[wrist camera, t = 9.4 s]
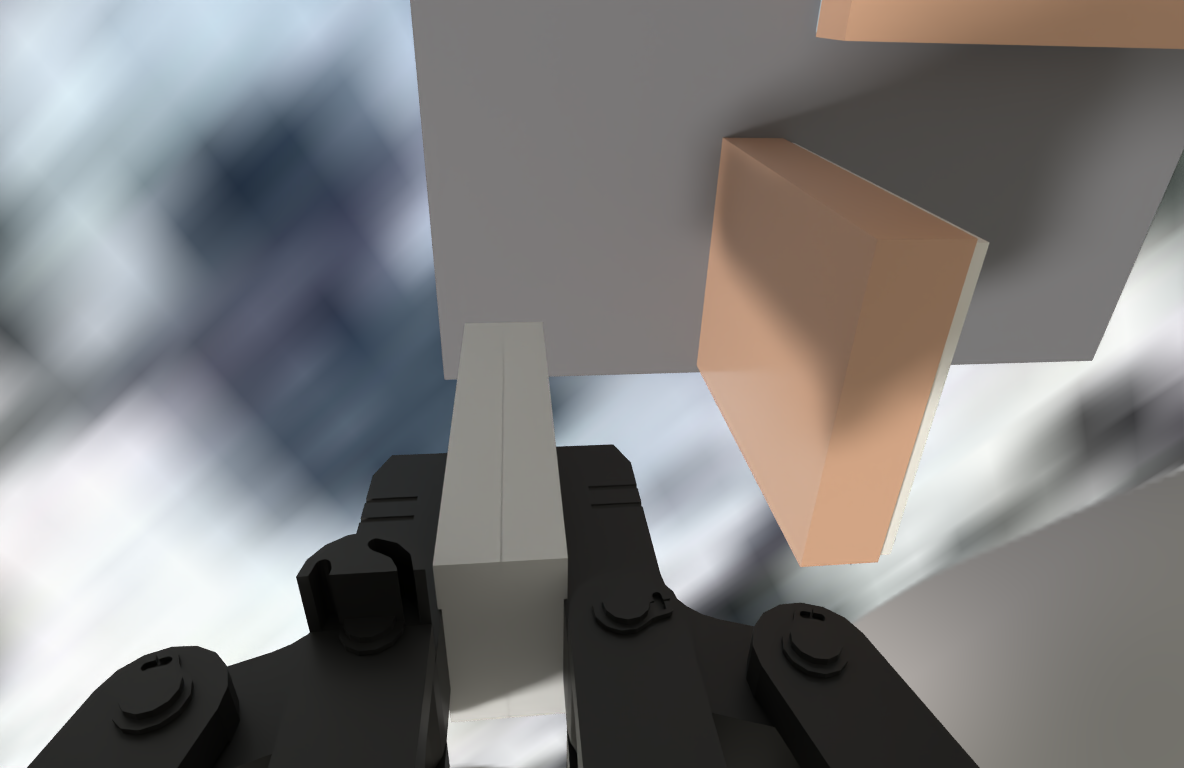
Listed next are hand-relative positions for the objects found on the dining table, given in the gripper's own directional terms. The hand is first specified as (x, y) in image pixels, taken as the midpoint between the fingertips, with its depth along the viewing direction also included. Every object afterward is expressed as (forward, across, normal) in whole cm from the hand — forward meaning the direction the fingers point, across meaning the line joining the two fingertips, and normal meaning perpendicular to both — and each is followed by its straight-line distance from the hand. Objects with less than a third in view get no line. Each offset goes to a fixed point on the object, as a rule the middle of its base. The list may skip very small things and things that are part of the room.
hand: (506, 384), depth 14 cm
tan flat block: (+7, +7, 0) cm, 10 cm away
